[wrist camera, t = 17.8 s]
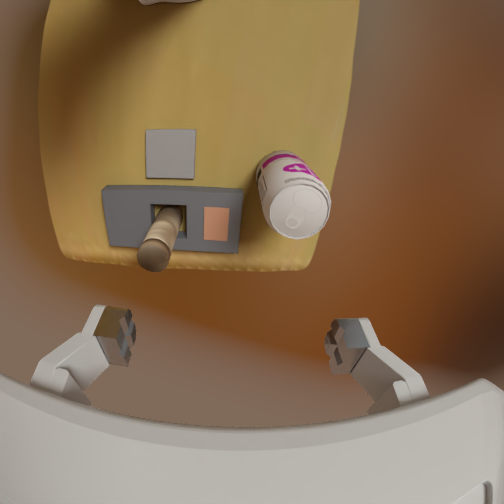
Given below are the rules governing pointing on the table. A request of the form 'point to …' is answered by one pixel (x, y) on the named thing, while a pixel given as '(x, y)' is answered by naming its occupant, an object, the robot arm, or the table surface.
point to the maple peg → (160, 239)
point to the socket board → (196, 198)
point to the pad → (170, 153)
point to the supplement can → (292, 195)
